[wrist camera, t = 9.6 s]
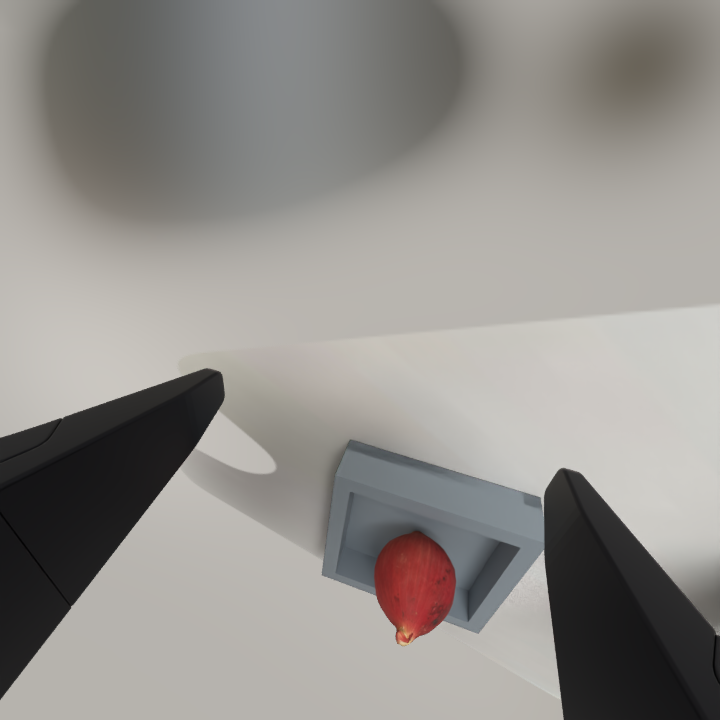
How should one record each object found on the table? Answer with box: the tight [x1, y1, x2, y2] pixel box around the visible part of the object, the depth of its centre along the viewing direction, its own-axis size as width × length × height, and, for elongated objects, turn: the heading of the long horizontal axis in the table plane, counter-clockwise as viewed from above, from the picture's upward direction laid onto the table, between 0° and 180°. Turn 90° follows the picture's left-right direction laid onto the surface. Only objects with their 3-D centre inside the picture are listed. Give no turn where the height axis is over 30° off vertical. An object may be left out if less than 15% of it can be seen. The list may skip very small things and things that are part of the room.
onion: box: [374, 531, 456, 646], centre depth 26 cm, size 6×6×8 cm
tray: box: [322, 440, 544, 633], centre depth 29 cm, size 14×14×4 cm
